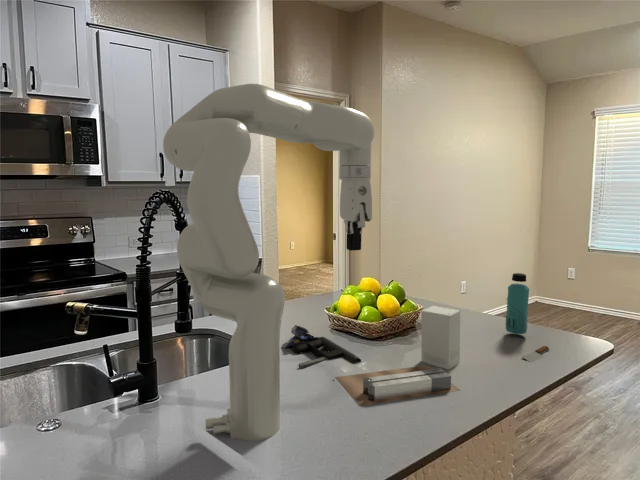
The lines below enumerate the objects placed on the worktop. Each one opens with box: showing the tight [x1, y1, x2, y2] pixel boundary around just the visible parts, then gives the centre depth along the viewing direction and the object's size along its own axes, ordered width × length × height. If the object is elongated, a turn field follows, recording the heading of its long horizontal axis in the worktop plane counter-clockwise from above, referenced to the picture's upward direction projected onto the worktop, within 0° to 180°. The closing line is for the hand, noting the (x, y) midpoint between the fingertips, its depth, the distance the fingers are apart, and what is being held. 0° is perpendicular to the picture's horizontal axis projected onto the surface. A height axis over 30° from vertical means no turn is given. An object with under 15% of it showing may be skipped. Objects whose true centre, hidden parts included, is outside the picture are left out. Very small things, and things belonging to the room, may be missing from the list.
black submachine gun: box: [291, 336, 362, 370], centre depth 129 cm, size 3×20×16 cm
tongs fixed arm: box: [368, 371, 452, 401], centre depth 105 cm, size 20×2×3 cm, turn 108°
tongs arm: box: [363, 367, 446, 394], centre depth 108 cm, size 20×2×3 cm, turn 107°
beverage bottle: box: [504, 272, 530, 335], centre depth 148 cm, size 6×7×20 cm
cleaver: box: [521, 345, 550, 363], centre depth 132 cm, size 13×2×5 cm
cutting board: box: [335, 364, 461, 407], centre depth 111 cm, size 25×15×2 cm, turn 108°
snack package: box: [282, 324, 321, 349], centre depth 141 cm, size 12×6×12 cm
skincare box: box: [420, 305, 461, 370], centre depth 123 cm, size 8×7×16 cm
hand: (353, 249), depth 114 cm, fingers closed
